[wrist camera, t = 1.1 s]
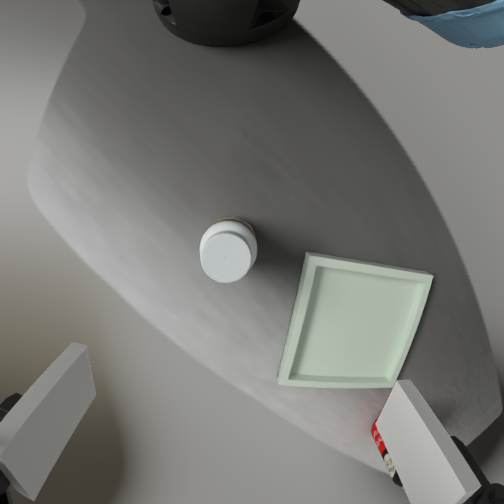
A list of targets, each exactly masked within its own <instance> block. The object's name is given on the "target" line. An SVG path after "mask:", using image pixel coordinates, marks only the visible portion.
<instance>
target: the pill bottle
mask: <svg viewBox="0 0 504 504" xmlns="http://www.w3.org/2000/svg"><path fill="white" fill-rule="evenodd" d="M256 256H257V242H256V237H255V233H254V230H253V228H252V227H251V225H250V224H249V223H248V222H247V221H245V220H244V219H242V218H240V217H236V216H227V217H223V218H221V219H219V220H217V221H216V222H215V223H214V224H213V225H212V226H210V228H209V229H208V230H207V231H206V232H205V234H204V235H203V237H202V240H201V243H200V257H201V264H202V267H203V269H204V271H205V272H206V274H207V275H208V276H209V277H211V278H212V279H214V280H216V281H218V282H221V283H232V282H235V281H238V280H240V279H241V278H243V277H244V276H245V275H246V273H247V272H248V271H249V269H250V268H251V267H252V266H253V264H254V262H255V260H256Z"/></svg>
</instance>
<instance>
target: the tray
mask: <svg viewBox="0 0 504 504" xmlns="http://www.w3.org/2000/svg"><path fill="white" fill-rule="evenodd" d="M432 279H433V275H431V274H429V273H427V272H425V271H420V270H415V269H409V268H403V267H397V266H391V265H386V264H380V263H374V262H368V261H362V260H356V259H350V258H344V257H338V256H332V255H326V254H320V253H314V252H308V251H306V253H305V258H304V263H303V268H302V272H301V277H300V282H299V286H298V291H297V295H296V300H295V304H294V309H293V313H292V317H291V322H290V326H289V330H288V334H287V339H286V343H285V347H284V351H283V355H282V359H281V363H280V367H279V370H278V374H277V377H278V383H279V385H286V386H301V387H320V388H393V386H394V384H395V381H396V379H397V377H398V375H399V372H400V370H401V368H402V365H403V363H404V361H405V358H406V356H407V353H408V351H409V348H410V346H411V343H412V340H413V338H414V335H415V332H416V330H417V327H418V324H419V321H420V318H421V315H422V312H423V309H424V306H425V303H426V300H427V297H428V293H429V290H430V286H431V283H432Z"/></svg>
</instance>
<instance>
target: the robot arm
mask: <svg viewBox="0 0 504 504" xmlns="http://www.w3.org/2000/svg"><path fill="white" fill-rule="evenodd" d="M383 1H385V2H387V3H389V4H390V5H392V6H394V7H395V8H397V9H399V10H400V12H401V14H402V15H404V16H405V17H407V18H409V19H411V20H416V21H418V22H420V23H421V24H423V25H425V26H426V27H428V28H429V29H431V30H432V31H434V32H435V33H437V34H438V35H440V36H441V37H443V38H444V39H446V40H447V41H449V42H451V43H453V44H456V45H458V46H462V47H466V48H481V47H484V48H491V47H497V46H501V45H504V0H383ZM299 2H300V0H153V5H154V8H155V11H156V13H157V15H158V16H159V18H160V20H161V22H162V23H163V25H164V26H165V27H166V28H167V29H168V30H169V31H170V32H171V33H173V34H174V35H176V36H178V37H179V38H181V39H184V40H186V41H189V42H192V43H196V44H201V45H207V46H235V45H242V44H247V43H251V42H254V41H258V40H260V39H263V38H266V37H268V36H270V35H272V34H274V33H275V32H277V31H279V30H280V29H282V28H283V27H284V26H285V25H286V24H287V23H288V22H289V21H290V20H291V19H292V18H293V16H294V15H295V13H296V11H297V8H298V5H299ZM95 396H96V391H95V386H94V381H93V376H92V370H91V365H90V359H89V352H88V346H85V345H81V344H78V343H75V342H72V344H70V345H69V346H68V348H67V349H66V350H65V351H64V352H63V353H62V354H61V355H60V356H59V357H58V358H57V359H56V360H55V361H54V362H53V363H52V364H51V365H50V366H49V368H48V369H47V370H46V371H45V372H44V373H43V374H42V375H41V376H40V377H39V378H38V380H37V381H36V382H35V383H34V384H33V385H32V386H31V387H30V389H29V390H28V391H27V392H26V393H25V394H24V395H23V396H22V395H20V394H18V393H15V394H14V395H11V396H10V397H8V398H6V399H5V400H4V401H3V402H2V403H1V405H0V504H13V501H12V498H11V493H10V491H9V489H8V487H9V485H10V483H11V484H12V486H13V487H14V488H15V489H16V490H17V491H18V492H19V493H21V494H23V495H24V496H26V497H28V498H29V499H31V500H33V501H34V500H35V499H36V497H37V495H38V493H39V491H40V489H41V487H42V485H43V484H44V482H45V480H46V478H47V476H48V474H49V473H50V471H51V469H52V468H53V466H54V464H55V462H56V460H57V459H58V457H59V455H60V454H61V452H62V450H63V448H64V447H65V445H66V443H67V442H68V440H69V438H70V437H71V435H72V433H73V432H74V430H75V428H76V427H77V425H78V423H79V422H80V420H81V418H82V417H83V415H84V414H85V412H86V410H87V409H88V407H89V405H90V404H91V402H92V401H93V399H94V398H95ZM375 424H376V427H377V429H378V431H379V433H380V435H381V437H382V440H383V442H384V444H385V446H386V448H387V451H388V453H389V455H390V457H391V459H392V462H393V464H394V466H395V468H396V471H397V473H398V475H399V477H400V480H401V482H402V484H403V487H404V489H405V491H406V494H407V496H408V498H409V501H410V503H411V504H504V486H503V485H501V484H498V483H494V484H490V483H489V481H488V480H487V479H486V477H485V475H484V474H483V472H482V471H481V469H480V468H479V466H478V465H477V463H476V462H475V460H474V459H473V457H472V456H471V454H470V453H468V450H467V448H466V447H465V445H464V444H463V442H461V441H460V440H459V439H458V438H456V437H455V436H451V437H450V436H449V434H448V433H447V431H446V430H445V428H444V427H443V425H442V424H441V422H440V421H439V420H438V418H437V417H436V415H435V414H434V412H433V411H432V409H431V408H430V407H429V405H428V404H427V402H426V401H425V399H424V398H423V397H422V395H421V394H420V392H419V391H418V390H417V388H416V387H415V385H414V384H413V383H412V381H411V380H397V381H396V383H395V385H394V387H393V389H392V392H391V394H390V396H389V398H388V400H387V402H386V404H385V406H384V408H383V410H382V412H381V414H380V416H379V418H378V420H377V422H376V423H375Z"/></svg>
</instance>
